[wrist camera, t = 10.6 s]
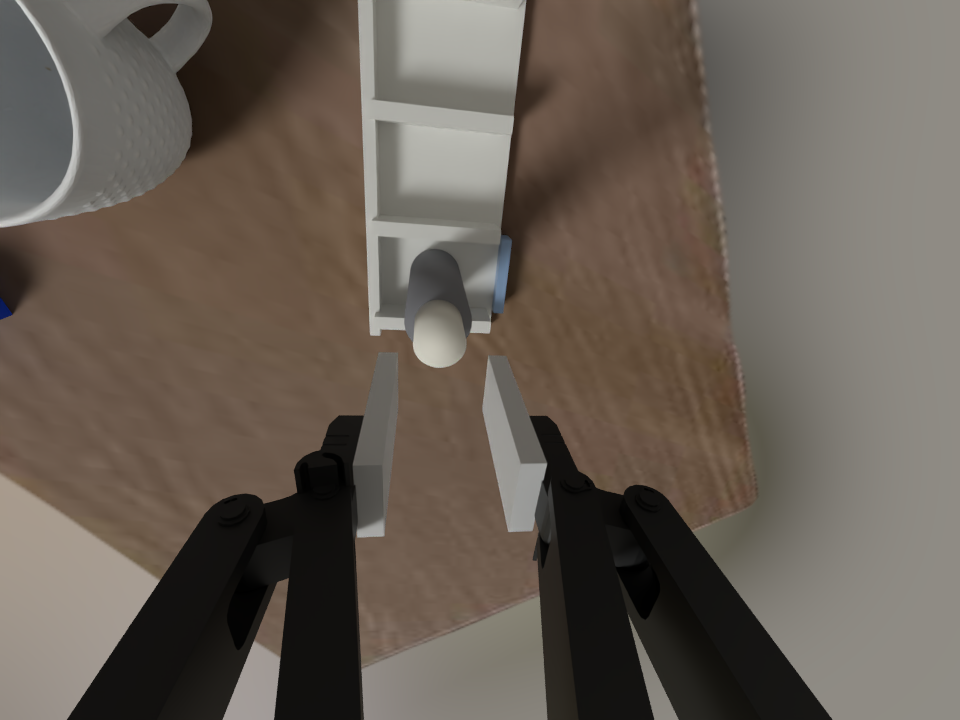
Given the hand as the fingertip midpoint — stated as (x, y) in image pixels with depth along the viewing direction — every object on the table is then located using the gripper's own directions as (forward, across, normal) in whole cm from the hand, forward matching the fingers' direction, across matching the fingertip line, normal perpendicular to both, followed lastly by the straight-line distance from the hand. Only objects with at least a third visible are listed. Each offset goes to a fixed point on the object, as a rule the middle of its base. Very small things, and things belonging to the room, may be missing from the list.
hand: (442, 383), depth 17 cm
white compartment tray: (+19, 0, +7) cm, 20 cm away
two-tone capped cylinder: (+18, 0, 0) cm, 18 cm away
